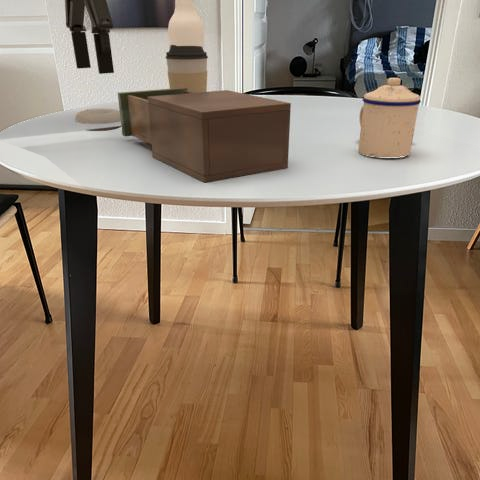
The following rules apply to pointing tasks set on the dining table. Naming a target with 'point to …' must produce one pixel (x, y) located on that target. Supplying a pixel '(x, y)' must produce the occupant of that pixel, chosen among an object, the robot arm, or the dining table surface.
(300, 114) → the dining table surface
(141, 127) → the drawer
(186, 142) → the cabinet
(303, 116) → the dining table surface
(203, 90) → the coffee cup
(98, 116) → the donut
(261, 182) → the dining table surface
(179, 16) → the alcohol
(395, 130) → the teacup with lid
